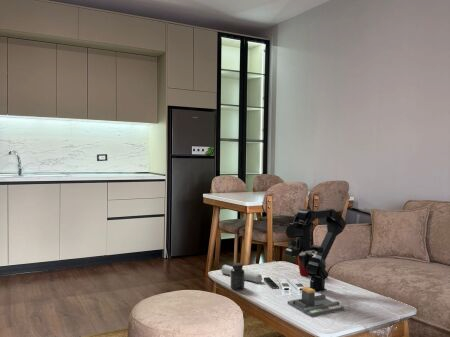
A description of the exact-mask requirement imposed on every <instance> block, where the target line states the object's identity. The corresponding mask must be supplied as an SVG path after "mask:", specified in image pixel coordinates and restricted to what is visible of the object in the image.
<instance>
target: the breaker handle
mask: <svg viewBox="0 0 450 337" xmlns="http://www.w3.org/2000/svg"><path fill="white" fill-rule="evenodd" d="M315 296H316V292H315V290H314V289H312V288H310V286H302V287H301V299H302V303H303V304H305V305H307V307H309V306H314V305H315Z"/></svg>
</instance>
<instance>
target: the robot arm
mask: <svg viewBox="0 0 450 337" xmlns="http://www.w3.org/2000/svg"><path fill="white" fill-rule="evenodd" d="M324 218H325V222H326V223H327V224H326V229H327V231H326V234H325V236H324V238H323V240H322V242H321V244H320V245H317V244H315V245H313V244H312V242H313V241H314V239H313V238H312V227H314V226H315V224H314V223H313V222H314V221H316V220H317V219H318V220H319V219H324ZM346 225H347V224H346V221H345V219H344V218H343V217H342V216H341V215H340V214H339V213H338V212H337V211H336V210H335V209H334V208H327V207H326V208H325V209H324V208H323V209H314V210H311V209H303V208H300V209H298V211H297V213H296V215H295V217H294V219H293V221H292V222H290V223H289V225H288V226H287V227H286V229H285V234H286V237H287V238H288V241H287V245H288V247H287V248H285V250H284V252H285V253H284V254H285V255H286V256H290V257H297V256H298V257H299V259H300V261H301V264H302V267H303V269H307V273H308V277H310V280H309V287H310V288H312V289H314V290H315V293H320V292H324V291H325V292H326V291H327V290H328V289H327V288H325V286H326V285H325V282H326V280H327V279H328V278H329V273H328V271H327V270H326V267H327V264H326V261H327V258H328V255H329V253H330V251H331V250H332V249H331V248H332V247H333V244H334V243H335V240H336V238H337V236H339V235H340V234H341V233H342V232H343V231H344V229H345V228H346ZM295 239H296V240H295ZM313 252H316V254H315V253H313ZM312 253H313V254H312ZM314 254H315V255H316V256H315V257H312V256H314Z"/></svg>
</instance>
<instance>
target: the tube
mask: <svg viewBox="0 0 450 337" xmlns="http://www.w3.org/2000/svg"><path fill="white" fill-rule="evenodd" d="M232 269H233V265H232V266H231V265H227V264H223V265H222V266H221V274H223V275H228V276H230V277H231V270H232ZM243 270H244V281H245V280H246V281H249V282H252V283H256V284H259V283H261V282H262V281H263V276H262V274H260V273H258V272H254V271H251V270H246V269H243Z"/></svg>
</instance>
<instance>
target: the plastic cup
mask: <svg viewBox="0 0 450 337" xmlns="http://www.w3.org/2000/svg"><path fill="white" fill-rule="evenodd" d="M312 254H314V256H312V257H315V256H316V254H315V253H313V252H312ZM296 257H297V263H298V264H297V265H298V271H299V275H300V276H302V277H309V276H308V273H307V269H303V267H302V264H301V261H300V259H299V257H298V256H296Z"/></svg>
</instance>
